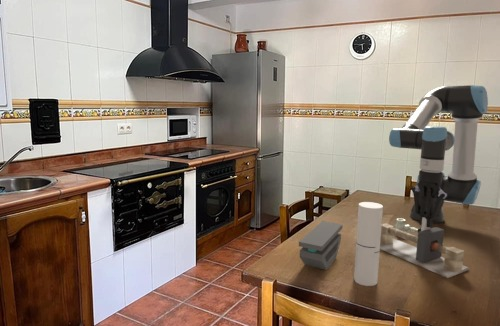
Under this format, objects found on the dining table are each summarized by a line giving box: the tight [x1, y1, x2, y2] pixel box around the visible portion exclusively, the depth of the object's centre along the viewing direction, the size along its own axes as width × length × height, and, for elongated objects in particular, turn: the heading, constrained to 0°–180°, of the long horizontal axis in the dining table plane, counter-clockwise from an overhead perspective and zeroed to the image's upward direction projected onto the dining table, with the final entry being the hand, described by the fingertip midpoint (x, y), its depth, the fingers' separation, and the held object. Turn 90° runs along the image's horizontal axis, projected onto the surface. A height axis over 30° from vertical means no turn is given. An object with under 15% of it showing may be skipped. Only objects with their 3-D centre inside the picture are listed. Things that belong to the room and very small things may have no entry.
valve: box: [394, 217, 421, 233], centre depth 159 cm, size 7×7×12 cm
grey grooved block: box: [298, 220, 343, 271], centre depth 131 cm, size 25×8×11 cm, turn 151°
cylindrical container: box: [353, 201, 384, 287], centre depth 117 cm, size 7×7×25 cm
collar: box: [416, 227, 445, 263], centre depth 132 cm, size 3×10×10 cm, turn 120°
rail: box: [380, 222, 470, 279], centre depth 137 cm, size 32×12×8 cm, turn 31°
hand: (424, 234), depth 134 cm, fingers closed
